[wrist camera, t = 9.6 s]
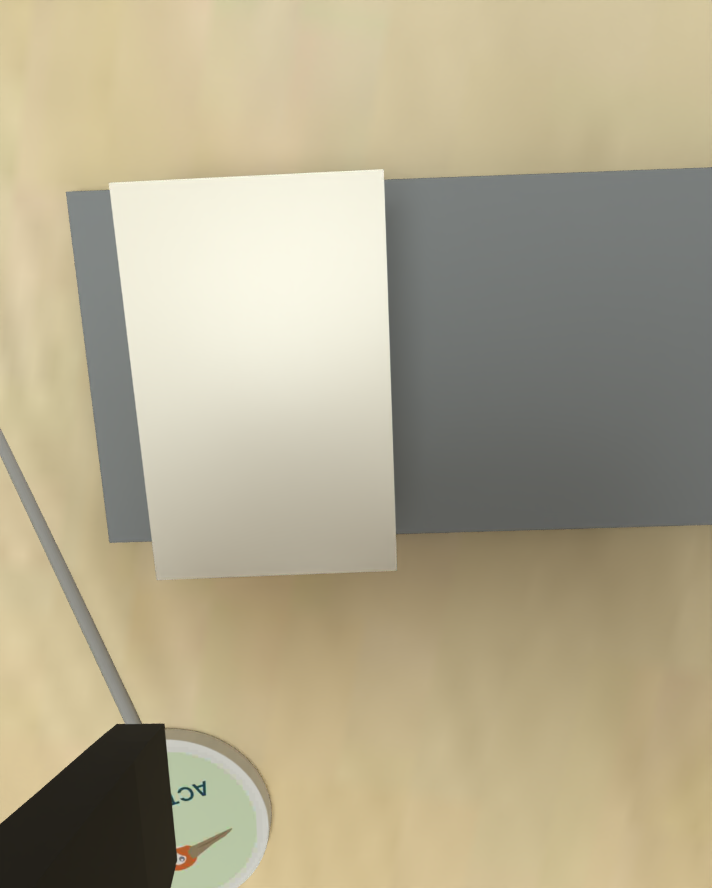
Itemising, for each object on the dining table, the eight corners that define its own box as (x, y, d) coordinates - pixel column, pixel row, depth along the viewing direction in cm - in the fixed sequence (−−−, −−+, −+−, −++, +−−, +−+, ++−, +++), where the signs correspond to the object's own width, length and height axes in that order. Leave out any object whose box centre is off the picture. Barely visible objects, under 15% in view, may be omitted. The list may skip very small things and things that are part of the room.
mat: (895, 164, 14) (914, 159, 14) (847, 513, 16) (862, 520, 16) (75, 195, 15) (65, 191, 14) (116, 535, 16) (109, 542, 16)
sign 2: (72, 355, 15) (296, 877, 18) (87, 353, 16) (299, 851, 19) (-129, 428, 16) (122, 926, 18) (-103, 421, 16) (132, 899, 19)
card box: (389, 510, 16) (397, 570, 12) (200, 518, 16) (156, 580, 12) (377, 200, 14) (384, 168, 11) (169, 210, 14) (109, 183, 11)
